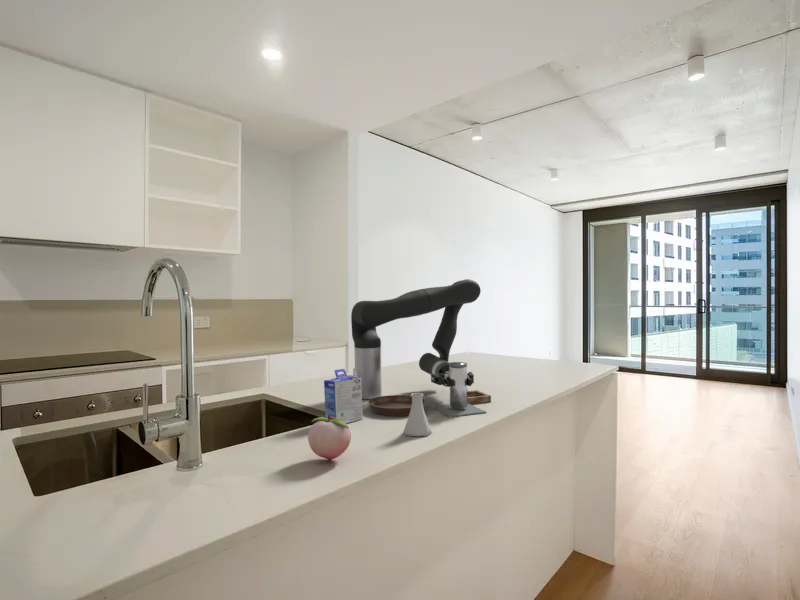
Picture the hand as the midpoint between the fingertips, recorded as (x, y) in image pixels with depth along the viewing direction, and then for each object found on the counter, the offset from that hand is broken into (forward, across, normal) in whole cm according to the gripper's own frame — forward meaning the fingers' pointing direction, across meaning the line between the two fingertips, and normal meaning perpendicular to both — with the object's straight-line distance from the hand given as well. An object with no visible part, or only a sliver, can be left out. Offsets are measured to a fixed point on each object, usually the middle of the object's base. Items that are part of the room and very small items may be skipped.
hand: (460, 383), depth 137 cm
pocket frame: (-14, +8, +9) cm, 19 cm away
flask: (+17, -17, +9) cm, 26 cm away
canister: (-2, 0, +8) cm, 8 cm away
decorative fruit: (+32, -40, +9) cm, 52 cm away
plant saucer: (-7, -18, +9) cm, 22 cm away
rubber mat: (-2, 0, +9) cm, 9 cm away
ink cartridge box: (+2, -35, +9) cm, 36 cm away
